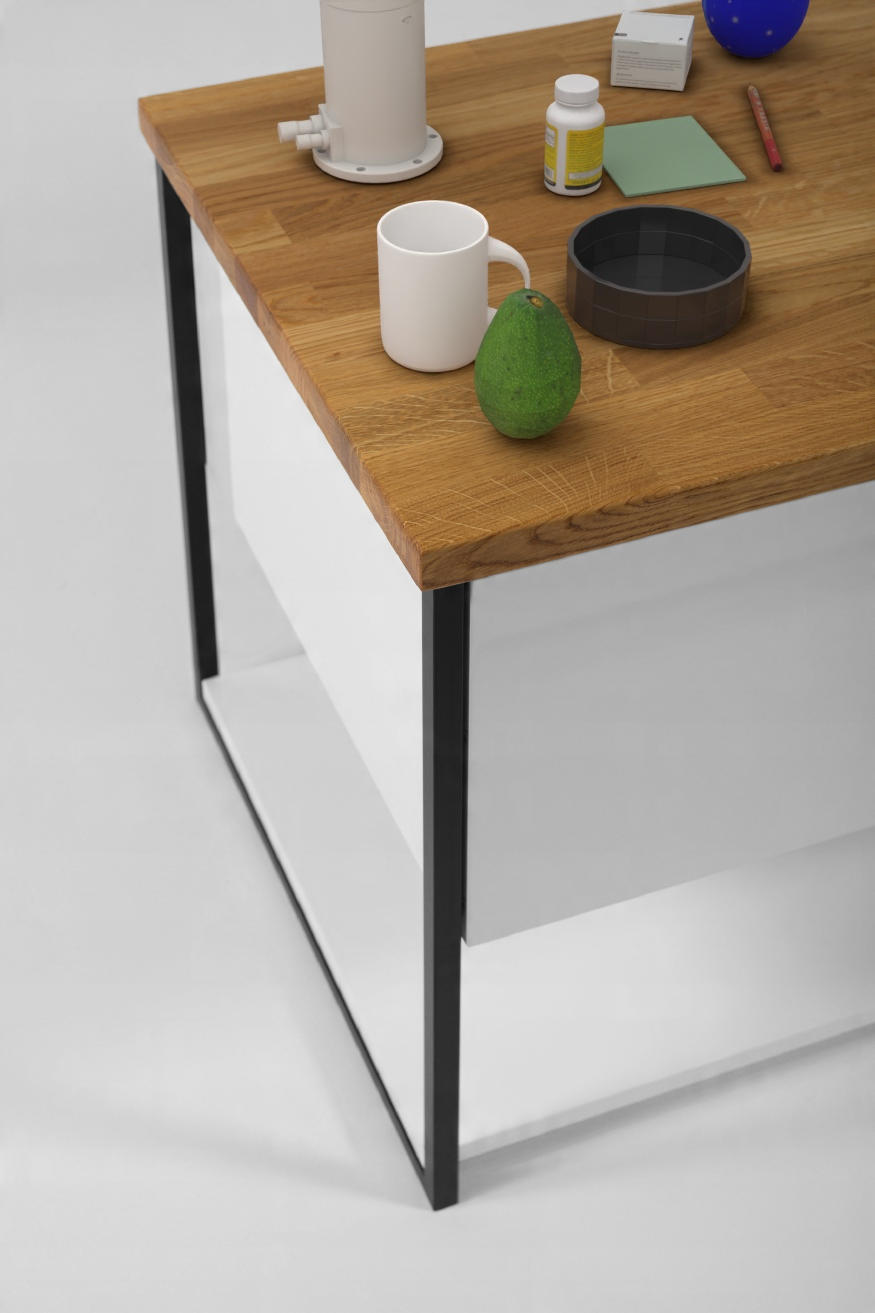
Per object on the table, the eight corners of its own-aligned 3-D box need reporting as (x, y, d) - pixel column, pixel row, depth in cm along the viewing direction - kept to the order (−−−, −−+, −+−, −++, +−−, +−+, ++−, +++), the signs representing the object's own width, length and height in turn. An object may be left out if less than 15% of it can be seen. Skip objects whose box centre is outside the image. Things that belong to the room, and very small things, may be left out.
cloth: (625, 197, 151) (626, 194, 151) (577, 133, 161) (577, 130, 161) (746, 180, 153) (746, 177, 153) (690, 118, 163) (691, 115, 163)
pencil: (783, 172, 154) (784, 162, 154) (771, 172, 154) (773, 163, 154) (754, 87, 168) (755, 78, 168) (743, 87, 168) (744, 78, 168)
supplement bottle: (611, 179, 154) (618, 78, 147) (583, 203, 150) (589, 100, 144) (561, 166, 156) (565, 65, 149) (532, 188, 152) (535, 87, 146)
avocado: (483, 466, 121) (485, 324, 112) (465, 406, 126) (465, 268, 118) (589, 455, 121) (598, 314, 113) (566, 396, 127) (573, 258, 119)
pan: (599, 361, 131) (603, 306, 127) (542, 270, 141) (544, 217, 138) (772, 333, 133) (780, 279, 130) (703, 246, 144) (709, 194, 141)
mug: (533, 371, 130) (538, 250, 122) (383, 377, 129) (378, 256, 122) (523, 314, 136) (527, 196, 129) (379, 320, 136) (375, 201, 128)
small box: (692, 62, 173) (697, 14, 169) (683, 93, 167) (688, 44, 164) (619, 56, 174) (622, 8, 171) (608, 86, 169) (611, 37, 165)
